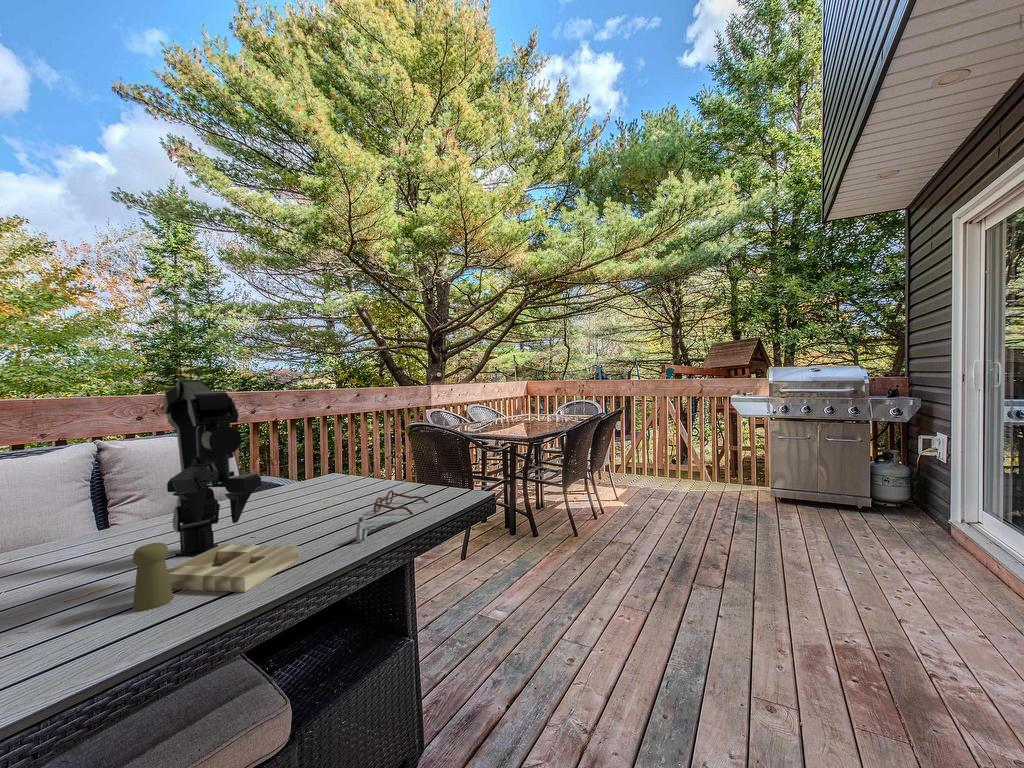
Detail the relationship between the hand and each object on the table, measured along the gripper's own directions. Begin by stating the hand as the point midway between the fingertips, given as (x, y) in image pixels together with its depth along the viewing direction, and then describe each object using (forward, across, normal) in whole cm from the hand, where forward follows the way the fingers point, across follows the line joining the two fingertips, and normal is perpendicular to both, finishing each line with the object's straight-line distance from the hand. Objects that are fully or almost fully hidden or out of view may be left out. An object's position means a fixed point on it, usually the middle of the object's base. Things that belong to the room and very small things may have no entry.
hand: (216, 522), depth 99 cm
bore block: (+11, +3, 0) cm, 11 cm away
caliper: (+11, +24, +29) cm, 39 cm away
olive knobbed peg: (+11, -2, -14) cm, 18 cm away
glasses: (+12, +21, +49) cm, 54 cm away
